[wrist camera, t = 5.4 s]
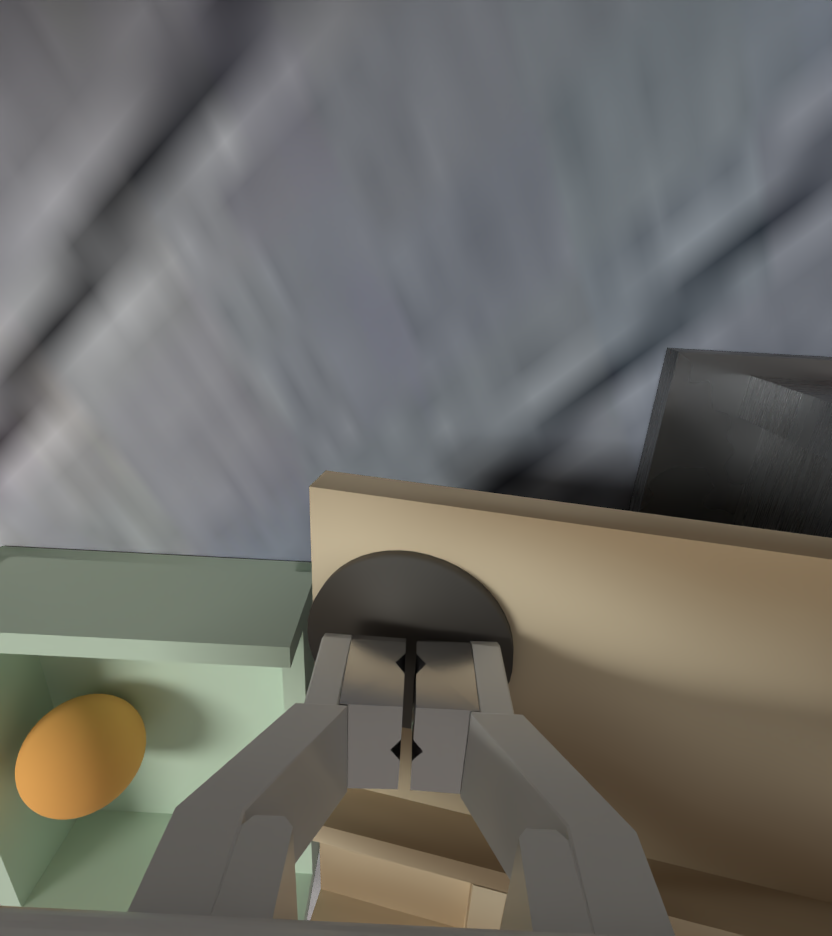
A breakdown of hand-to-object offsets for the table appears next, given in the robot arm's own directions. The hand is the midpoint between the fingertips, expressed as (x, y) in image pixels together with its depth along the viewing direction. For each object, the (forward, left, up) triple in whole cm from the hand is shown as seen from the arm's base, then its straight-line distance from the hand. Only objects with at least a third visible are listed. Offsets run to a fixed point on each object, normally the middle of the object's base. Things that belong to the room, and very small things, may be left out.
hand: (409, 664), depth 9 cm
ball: (+7, -9, -3) cm, 12 cm away
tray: (+7, -7, -5) cm, 11 cm away
